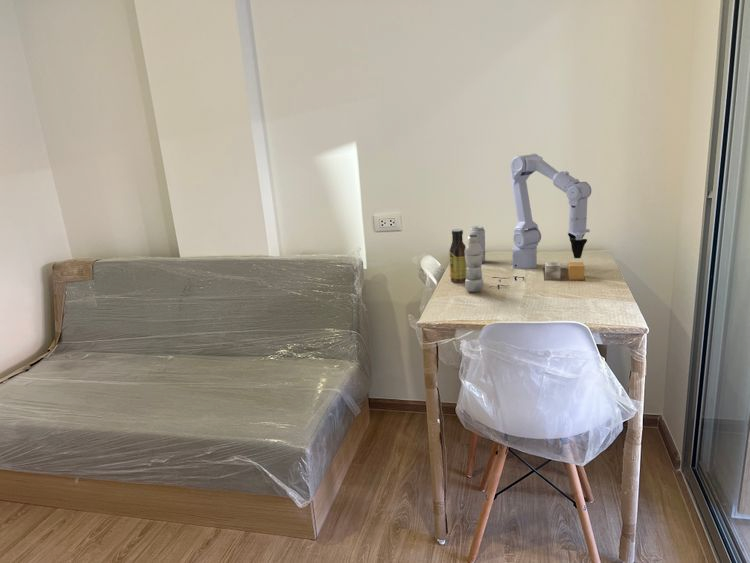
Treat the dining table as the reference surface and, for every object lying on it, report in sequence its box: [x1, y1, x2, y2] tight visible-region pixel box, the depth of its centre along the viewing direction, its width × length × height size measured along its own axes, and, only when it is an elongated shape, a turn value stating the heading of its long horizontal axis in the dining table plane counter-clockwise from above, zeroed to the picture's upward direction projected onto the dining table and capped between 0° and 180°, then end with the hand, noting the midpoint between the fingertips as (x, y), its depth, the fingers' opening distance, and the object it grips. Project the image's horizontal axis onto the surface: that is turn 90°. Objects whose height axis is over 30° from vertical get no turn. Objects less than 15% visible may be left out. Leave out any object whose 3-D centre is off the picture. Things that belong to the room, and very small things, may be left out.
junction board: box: [542, 261, 586, 282], centre depth 199 cm, size 14×16×6 cm
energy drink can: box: [469, 225, 486, 263], centre depth 226 cm, size 6×6×15 cm
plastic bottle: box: [464, 234, 484, 293], centre depth 189 cm, size 6×7×20 cm
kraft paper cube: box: [567, 261, 585, 280], centre depth 194 cm, size 5×5×5 cm
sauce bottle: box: [448, 228, 467, 283], centre depth 202 cm, size 7×6×20 cm
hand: (576, 255), depth 192 cm, fingers open, 7 cm apart
